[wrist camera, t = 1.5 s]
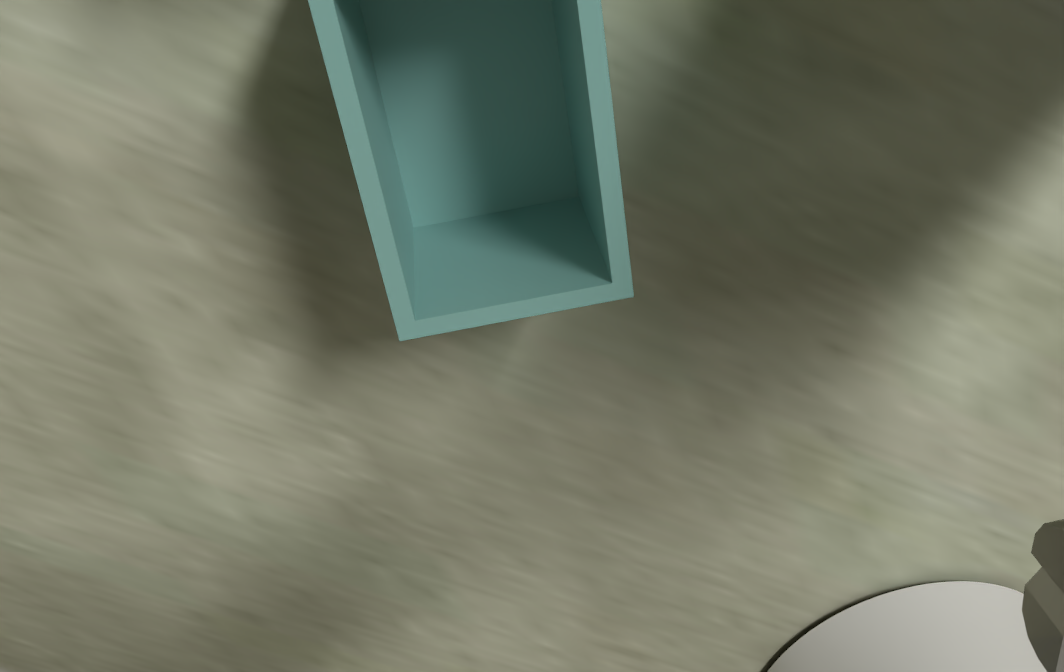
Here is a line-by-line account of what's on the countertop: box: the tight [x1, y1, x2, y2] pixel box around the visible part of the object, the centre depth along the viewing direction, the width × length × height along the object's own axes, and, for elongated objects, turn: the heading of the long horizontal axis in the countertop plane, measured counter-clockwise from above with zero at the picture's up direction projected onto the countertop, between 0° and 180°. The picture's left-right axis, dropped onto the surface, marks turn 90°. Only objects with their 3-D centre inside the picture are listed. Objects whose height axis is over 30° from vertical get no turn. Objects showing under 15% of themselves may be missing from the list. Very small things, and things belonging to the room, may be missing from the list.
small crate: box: [308, 0, 634, 341], centre depth 24 cm, size 9×6×6 cm, turn 9°
